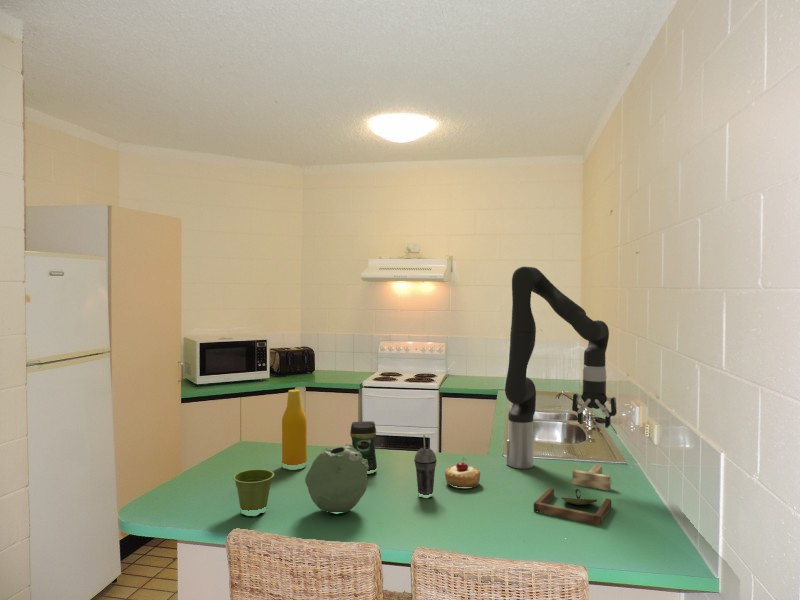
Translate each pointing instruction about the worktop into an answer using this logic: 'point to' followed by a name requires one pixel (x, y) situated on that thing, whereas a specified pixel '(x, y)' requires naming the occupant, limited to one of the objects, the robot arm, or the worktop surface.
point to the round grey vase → (337, 478)
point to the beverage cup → (425, 469)
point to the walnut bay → (571, 510)
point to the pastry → (462, 475)
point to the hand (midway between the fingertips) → (593, 425)
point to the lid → (578, 500)
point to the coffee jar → (365, 441)
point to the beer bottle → (294, 431)
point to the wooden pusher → (592, 478)
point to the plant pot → (253, 488)
